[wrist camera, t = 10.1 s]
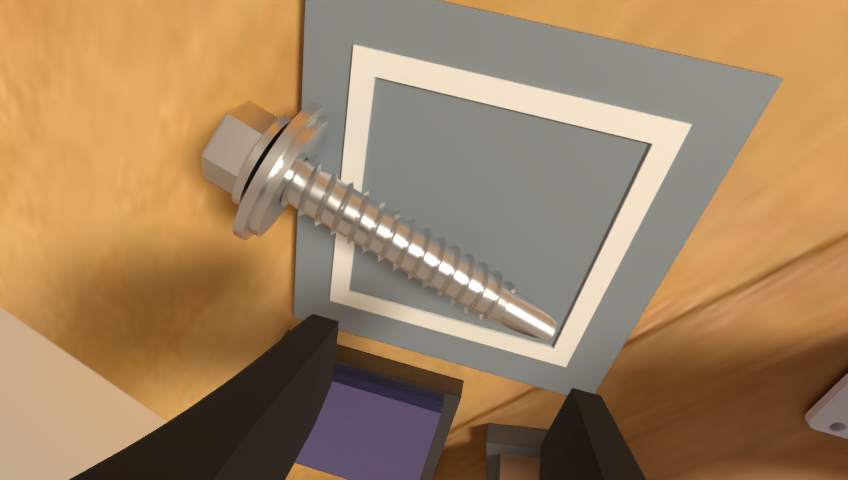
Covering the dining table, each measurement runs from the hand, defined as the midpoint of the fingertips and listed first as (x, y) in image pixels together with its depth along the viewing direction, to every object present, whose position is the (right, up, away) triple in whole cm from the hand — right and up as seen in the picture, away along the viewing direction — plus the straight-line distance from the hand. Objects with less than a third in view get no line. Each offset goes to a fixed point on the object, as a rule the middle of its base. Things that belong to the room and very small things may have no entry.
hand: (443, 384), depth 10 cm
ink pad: (-4, -6, +14) cm, 16 cm away
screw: (-1, +4, +7) cm, 8 cm away
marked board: (+2, +4, +7) cm, 8 cm away
